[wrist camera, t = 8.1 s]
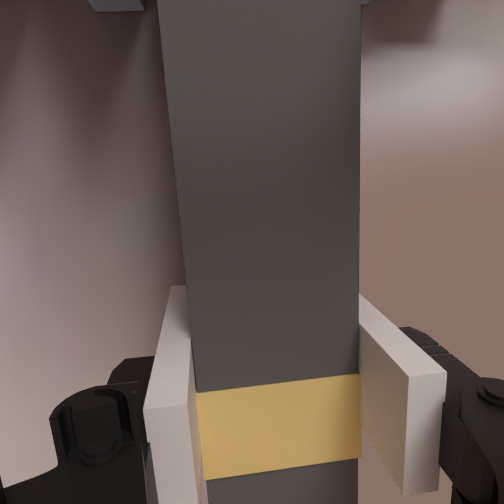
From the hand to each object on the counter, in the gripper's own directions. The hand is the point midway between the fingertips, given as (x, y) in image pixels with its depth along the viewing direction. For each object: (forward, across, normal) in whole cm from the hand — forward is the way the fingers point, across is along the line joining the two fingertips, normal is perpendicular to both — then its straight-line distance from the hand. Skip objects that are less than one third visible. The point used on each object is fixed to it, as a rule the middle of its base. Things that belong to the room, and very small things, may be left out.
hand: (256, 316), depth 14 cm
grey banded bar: (0, 0, +3) cm, 3 cm away
